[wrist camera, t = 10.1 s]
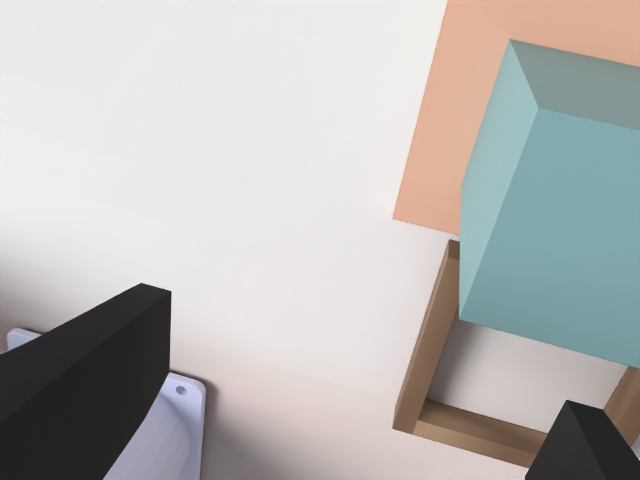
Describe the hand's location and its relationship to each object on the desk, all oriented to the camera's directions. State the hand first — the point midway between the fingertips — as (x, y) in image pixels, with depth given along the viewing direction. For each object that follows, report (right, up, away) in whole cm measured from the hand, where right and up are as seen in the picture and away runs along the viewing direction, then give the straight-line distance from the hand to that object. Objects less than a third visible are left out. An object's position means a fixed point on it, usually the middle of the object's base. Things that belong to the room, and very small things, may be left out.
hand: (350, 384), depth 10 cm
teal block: (+6, +6, +6) cm, 10 cm away
